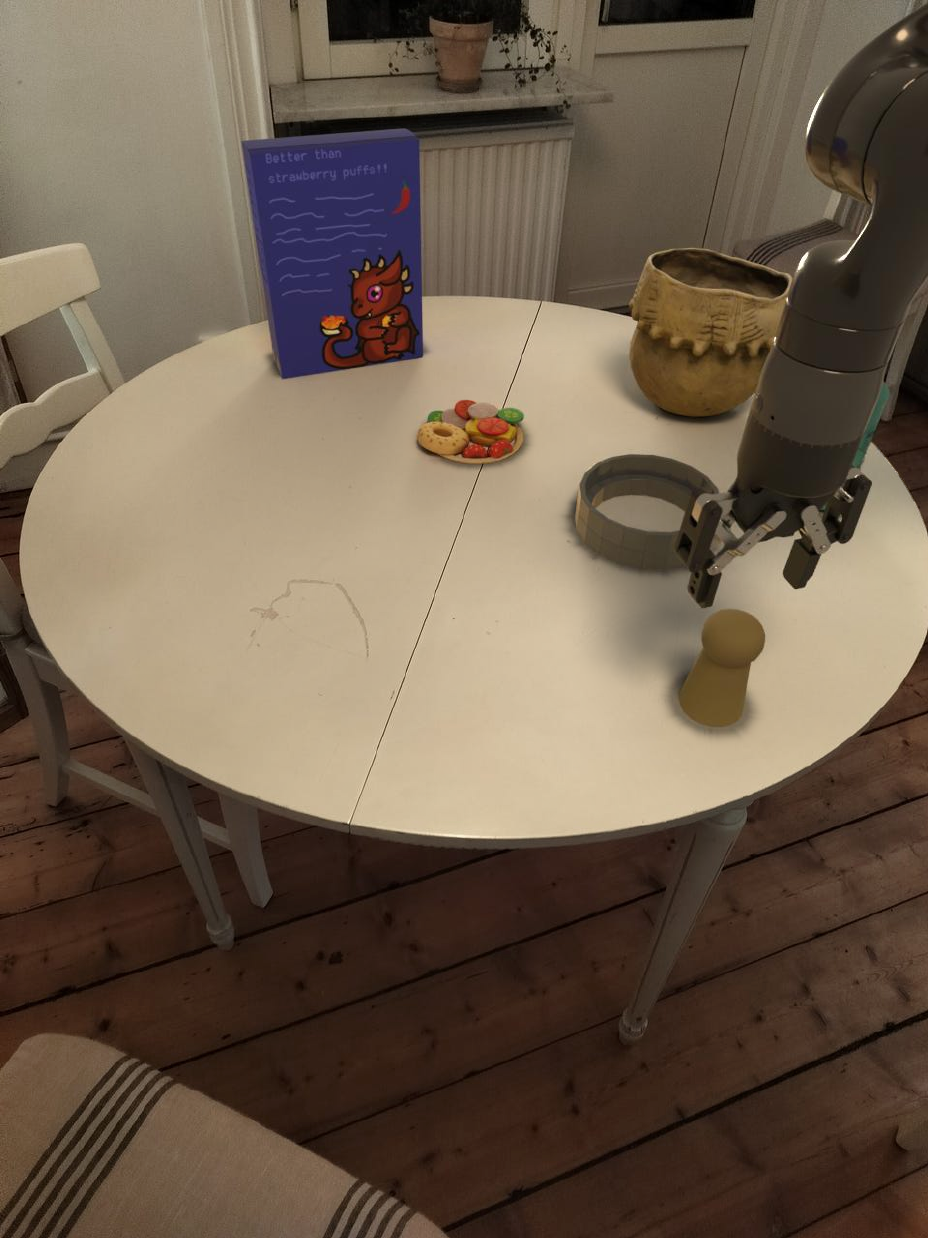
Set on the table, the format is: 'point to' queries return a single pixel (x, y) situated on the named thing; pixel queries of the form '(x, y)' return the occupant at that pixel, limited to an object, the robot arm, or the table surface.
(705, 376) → the clay pot
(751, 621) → the tan game pawn
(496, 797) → the table surface
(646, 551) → the tiled ring wall
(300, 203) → the cereal box
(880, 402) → the beverage bottle
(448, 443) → the toy food set
